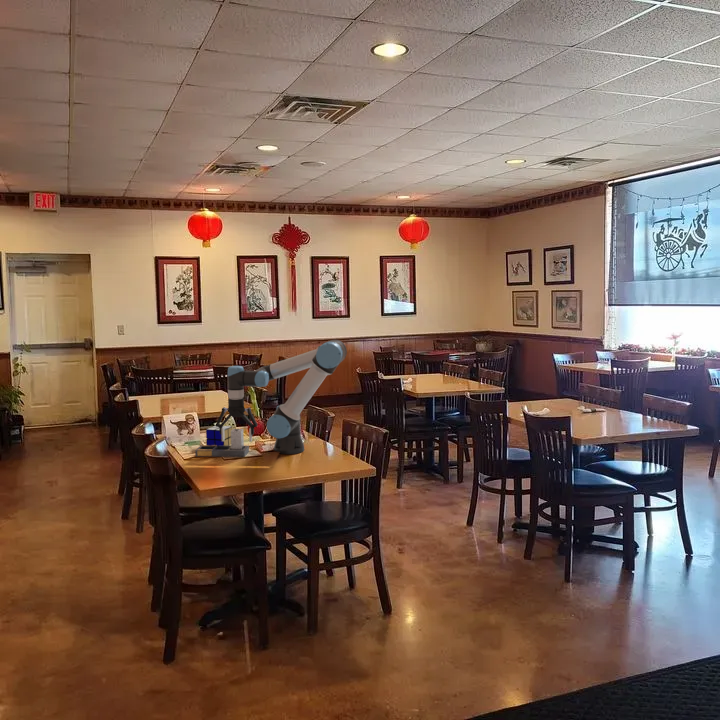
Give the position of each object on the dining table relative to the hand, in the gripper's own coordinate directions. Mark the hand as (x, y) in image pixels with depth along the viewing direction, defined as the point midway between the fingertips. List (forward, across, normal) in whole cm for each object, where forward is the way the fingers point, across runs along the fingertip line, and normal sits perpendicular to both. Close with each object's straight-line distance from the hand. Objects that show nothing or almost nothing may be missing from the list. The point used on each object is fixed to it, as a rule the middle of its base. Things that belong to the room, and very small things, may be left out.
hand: (237, 441), depth 350 cm
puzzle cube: (+8, +13, -18) cm, 24 cm away
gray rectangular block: (+7, 0, 0) cm, 7 cm away
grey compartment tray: (+8, +7, 0) cm, 10 cm away
